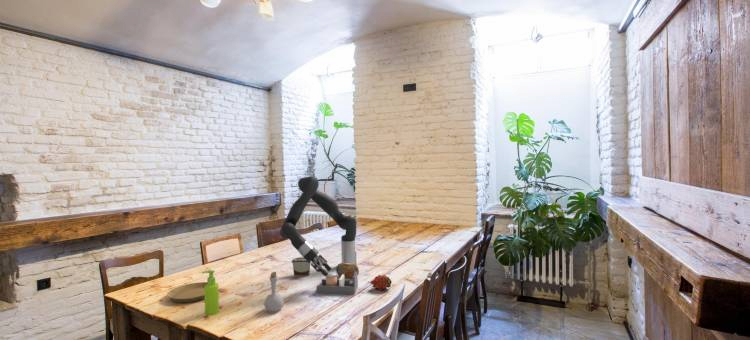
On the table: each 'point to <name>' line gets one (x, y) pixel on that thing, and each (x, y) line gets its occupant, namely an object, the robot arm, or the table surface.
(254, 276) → the table surface
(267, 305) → the potion bottle
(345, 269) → the brown lumpy slab
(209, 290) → the soap dispenser
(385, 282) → the dragon fruit
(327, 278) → the jar
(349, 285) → the grey low-walled tray
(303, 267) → the food container
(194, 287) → the plant saucer
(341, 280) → the pusher
